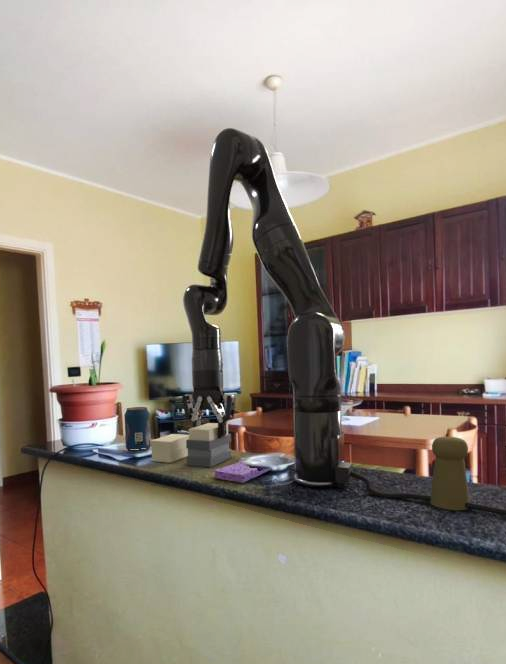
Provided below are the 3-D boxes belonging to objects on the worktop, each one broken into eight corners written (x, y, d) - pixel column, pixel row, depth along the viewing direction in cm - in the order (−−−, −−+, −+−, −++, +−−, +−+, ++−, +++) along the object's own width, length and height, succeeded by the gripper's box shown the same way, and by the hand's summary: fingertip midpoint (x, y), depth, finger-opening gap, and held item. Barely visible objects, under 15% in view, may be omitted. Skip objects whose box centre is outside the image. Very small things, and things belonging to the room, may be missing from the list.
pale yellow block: (228, 433, 108) (228, 423, 108) (209, 441, 99) (209, 430, 99) (209, 432, 111) (208, 422, 111) (188, 439, 102) (188, 429, 102)
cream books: (191, 454, 113) (191, 434, 113) (170, 463, 104) (169, 441, 104) (173, 452, 116) (172, 433, 116) (150, 461, 107) (149, 440, 107)
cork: (455, 512, 66) (455, 442, 66) (421, 501, 72) (421, 436, 71) (479, 505, 69) (479, 438, 68) (444, 495, 74) (444, 432, 74)
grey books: (232, 457, 109) (231, 433, 108) (211, 467, 99) (210, 441, 98) (208, 455, 112) (207, 432, 112) (185, 465, 102) (184, 440, 102)
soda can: (125, 449, 123) (124, 407, 122) (150, 447, 124) (148, 406, 124) (126, 454, 116) (124, 410, 115) (152, 452, 118) (150, 408, 117)
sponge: (214, 479, 89) (214, 470, 89) (246, 465, 100) (246, 457, 99) (242, 483, 85) (242, 474, 85) (273, 469, 95) (273, 461, 95)
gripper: (173, 369, 104) (176, 438, 105) (227, 368, 97) (229, 441, 98) (190, 368, 111) (192, 433, 111) (240, 367, 104) (242, 435, 105)
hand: (209, 436), depth 105 cm, fingers closed on grey books, 6 cm apart
